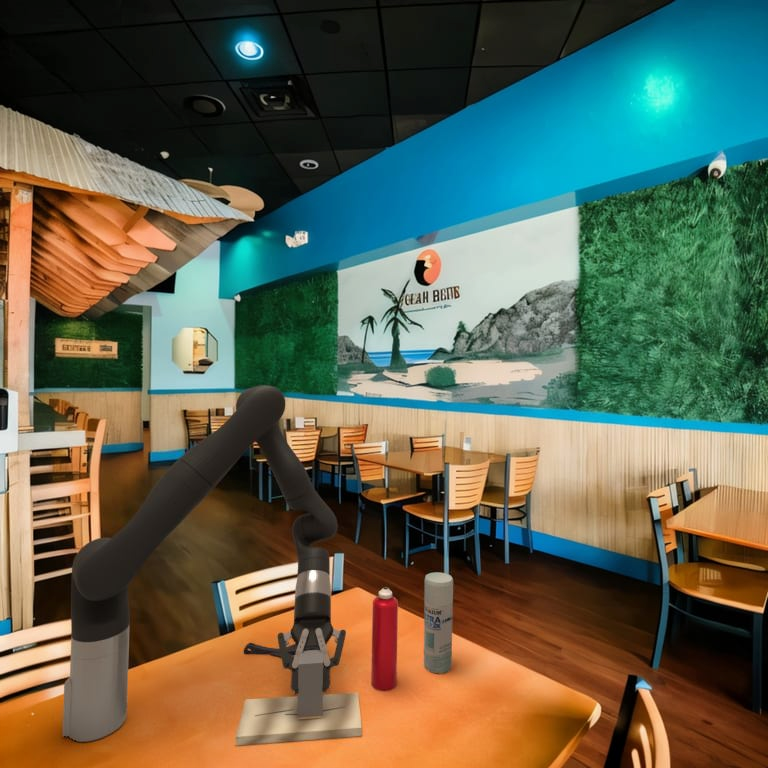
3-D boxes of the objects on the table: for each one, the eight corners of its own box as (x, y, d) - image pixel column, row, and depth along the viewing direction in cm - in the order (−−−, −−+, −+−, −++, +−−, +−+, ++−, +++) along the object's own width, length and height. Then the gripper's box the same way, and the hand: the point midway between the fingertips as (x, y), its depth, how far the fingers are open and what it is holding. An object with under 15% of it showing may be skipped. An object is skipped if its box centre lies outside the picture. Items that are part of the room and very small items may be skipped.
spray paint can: (417, 664, 107) (418, 576, 107) (437, 654, 111) (438, 569, 111) (438, 678, 102) (439, 585, 102) (457, 667, 106) (459, 578, 106)
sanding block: (297, 719, 85) (298, 664, 86) (298, 703, 90) (299, 650, 90) (322, 717, 86) (323, 662, 86) (322, 701, 91) (323, 649, 91)
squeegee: (252, 639, 117) (253, 628, 117) (311, 640, 117) (311, 629, 117) (234, 674, 103) (234, 661, 103) (301, 675, 103) (301, 662, 103)
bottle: (389, 694, 96) (390, 596, 96) (366, 685, 98) (368, 590, 99) (401, 680, 101) (402, 586, 101) (379, 672, 103) (380, 581, 104)
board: (235, 745, 81) (235, 736, 81) (245, 707, 91) (245, 699, 91) (361, 736, 84) (361, 727, 84) (357, 699, 94) (357, 692, 94)
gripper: (277, 592, 95) (269, 689, 83) (347, 589, 97) (350, 684, 84) (279, 606, 100) (272, 700, 88) (346, 603, 102) (348, 695, 90)
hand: (310, 692), depth 86 cm, fingers closed on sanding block, 4 cm apart
